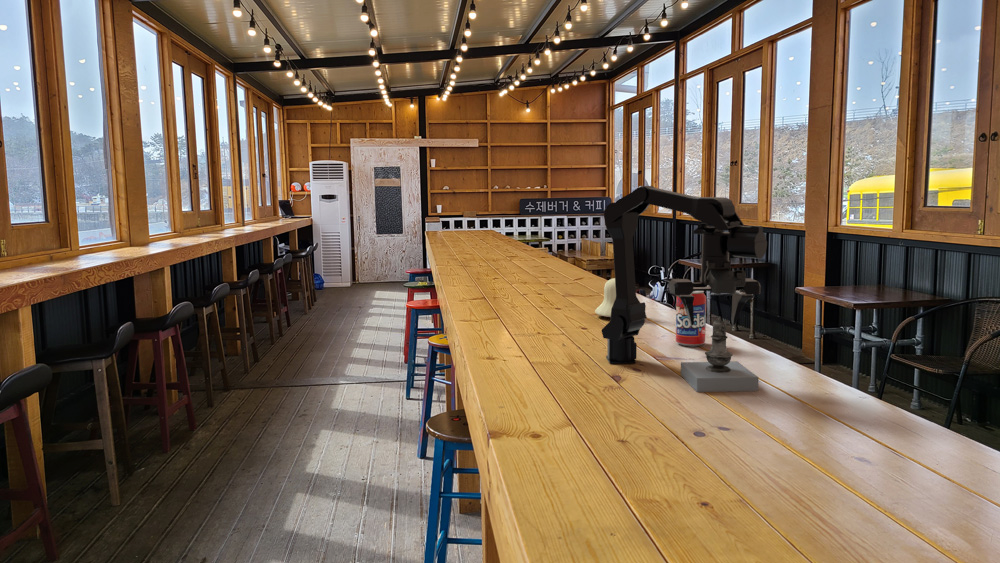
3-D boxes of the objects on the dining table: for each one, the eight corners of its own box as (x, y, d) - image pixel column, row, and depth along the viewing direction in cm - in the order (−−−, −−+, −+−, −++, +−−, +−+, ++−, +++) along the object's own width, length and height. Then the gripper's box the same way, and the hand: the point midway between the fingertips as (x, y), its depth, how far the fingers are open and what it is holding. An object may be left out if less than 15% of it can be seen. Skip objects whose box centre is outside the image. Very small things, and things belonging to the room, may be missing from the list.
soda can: (702, 341, 188) (703, 288, 186) (707, 347, 180) (709, 292, 178) (673, 341, 189) (674, 288, 187) (678, 347, 181) (679, 292, 179)
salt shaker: (709, 373, 145) (711, 319, 144) (700, 366, 151) (701, 314, 150) (736, 372, 146) (738, 318, 144) (726, 365, 151) (728, 313, 150)
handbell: (648, 315, 226) (648, 241, 223) (631, 323, 214) (632, 245, 210) (605, 311, 235) (605, 240, 231) (587, 319, 222) (587, 243, 218)
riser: (696, 391, 142) (697, 378, 142) (680, 374, 155) (680, 362, 155) (758, 390, 142) (758, 377, 142) (736, 373, 155) (737, 361, 155)
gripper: (682, 260, 139) (680, 333, 141) (772, 259, 139) (768, 332, 141) (669, 254, 150) (667, 322, 152) (752, 253, 150) (749, 321, 152)
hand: (712, 324), depth 149 cm, fingers open, 9 cm apart
